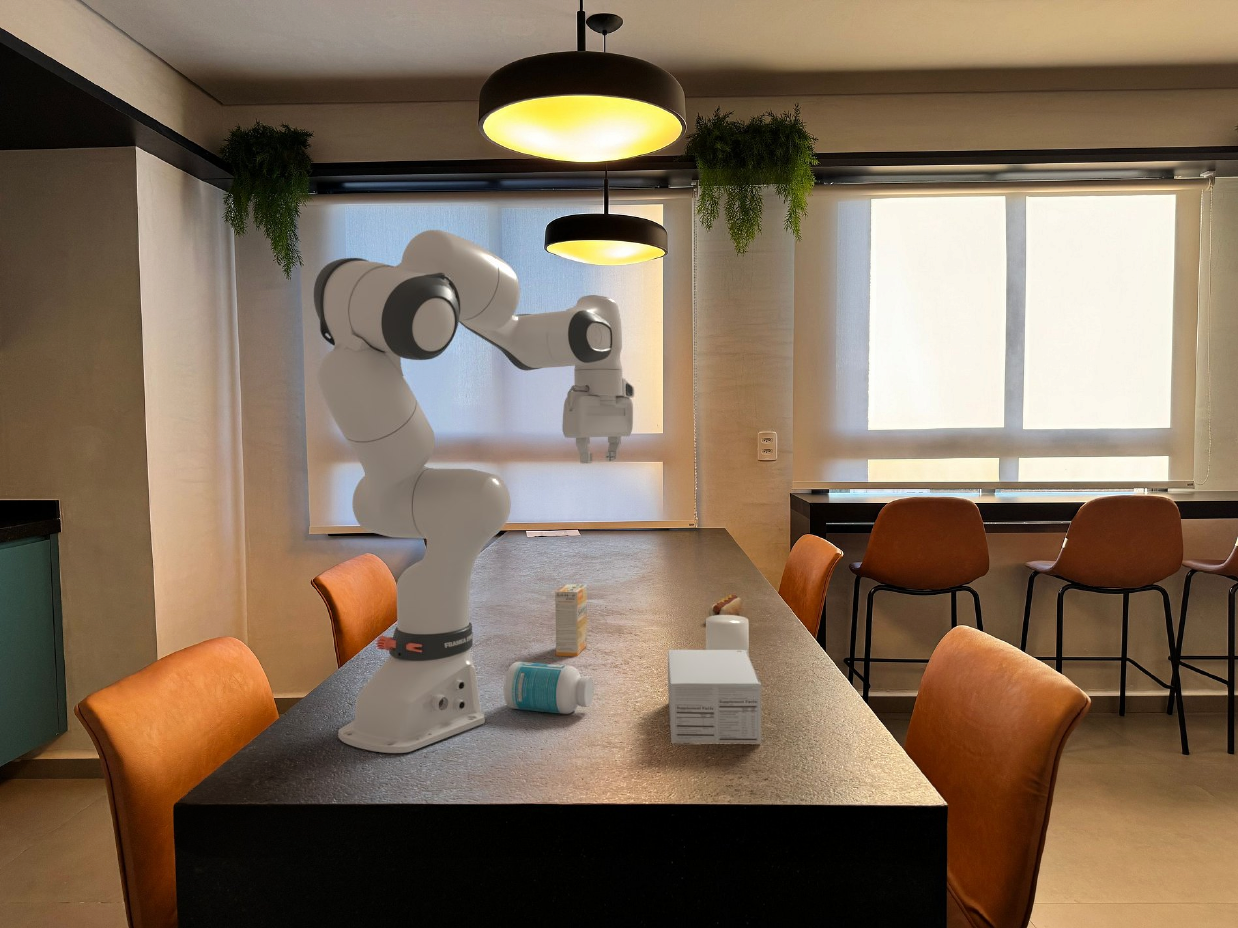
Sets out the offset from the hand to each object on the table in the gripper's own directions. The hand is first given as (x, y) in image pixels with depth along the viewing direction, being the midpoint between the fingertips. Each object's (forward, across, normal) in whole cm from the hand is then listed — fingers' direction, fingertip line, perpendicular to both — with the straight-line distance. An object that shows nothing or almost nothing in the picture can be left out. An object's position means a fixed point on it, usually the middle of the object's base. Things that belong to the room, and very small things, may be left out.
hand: (599, 462), depth 146 cm
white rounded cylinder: (+39, +13, -20) cm, 46 cm away
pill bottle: (+35, -23, +4) cm, 42 cm away
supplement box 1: (+39, +9, +12) cm, 42 cm away
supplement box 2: (+40, -15, -28) cm, 51 cm away
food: (+40, +49, -6) cm, 63 cm away
